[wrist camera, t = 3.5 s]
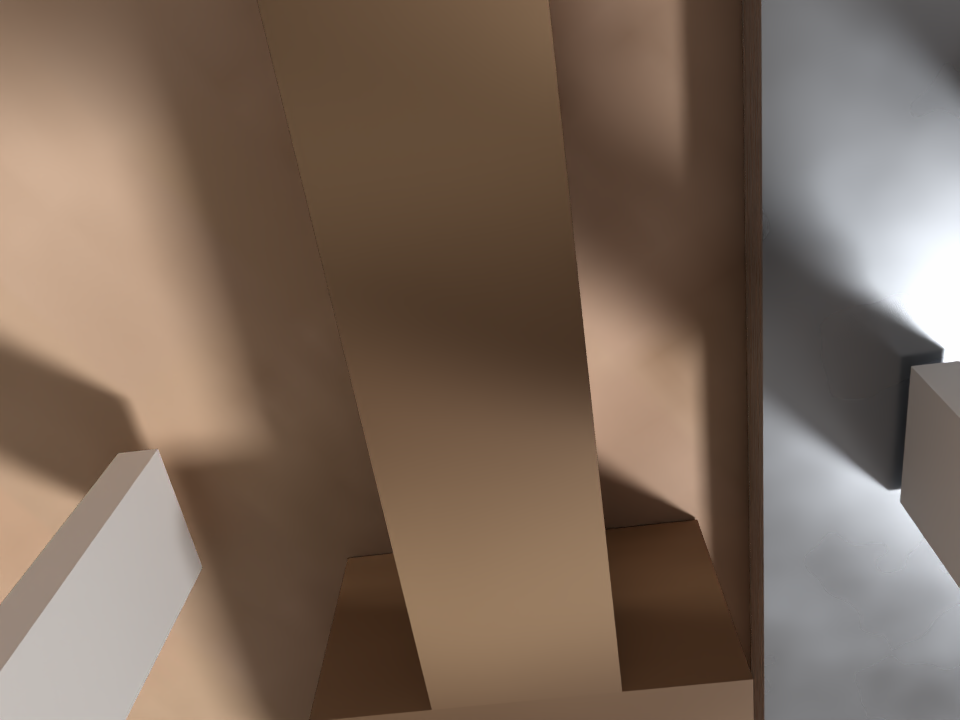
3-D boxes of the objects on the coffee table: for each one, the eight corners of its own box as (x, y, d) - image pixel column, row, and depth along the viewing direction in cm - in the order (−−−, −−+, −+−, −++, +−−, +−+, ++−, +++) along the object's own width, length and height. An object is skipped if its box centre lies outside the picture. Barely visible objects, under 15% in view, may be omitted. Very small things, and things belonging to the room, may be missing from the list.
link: (708, 763, 20) (756, 946, 16) (412, 788, 20) (393, 971, 17) (665, -161, 12) (741, -207, 8) (173, -74, 12) (37, -81, 8)
